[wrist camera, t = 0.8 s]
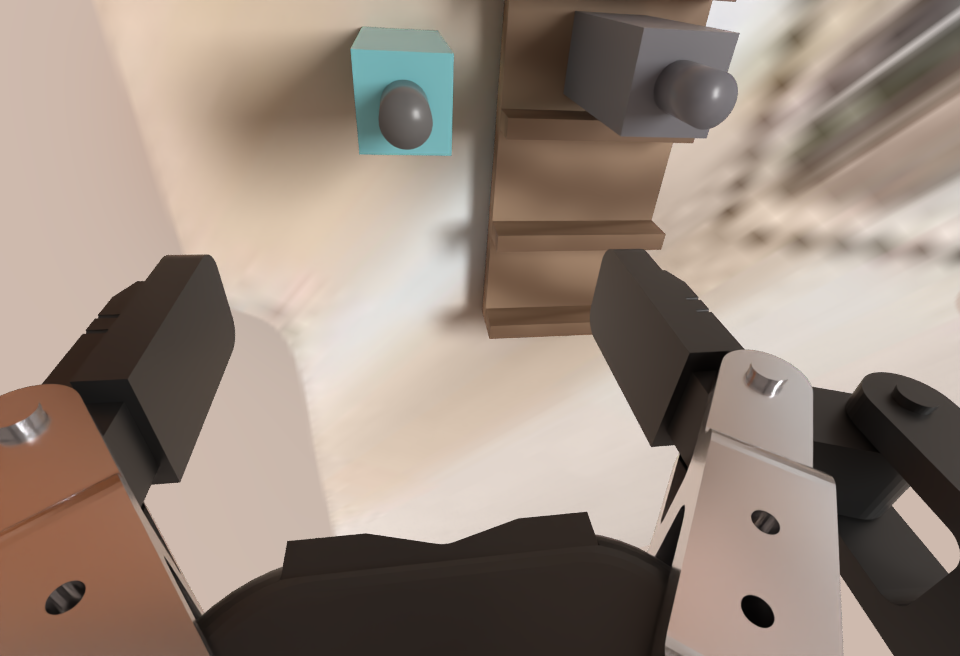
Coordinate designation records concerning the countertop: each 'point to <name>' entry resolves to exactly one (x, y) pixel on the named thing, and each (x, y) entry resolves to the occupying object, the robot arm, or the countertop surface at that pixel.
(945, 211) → the countertop surface
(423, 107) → the teal plug
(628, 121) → the charcoal plug
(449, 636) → the robot arm
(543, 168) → the wooden slotted rack
